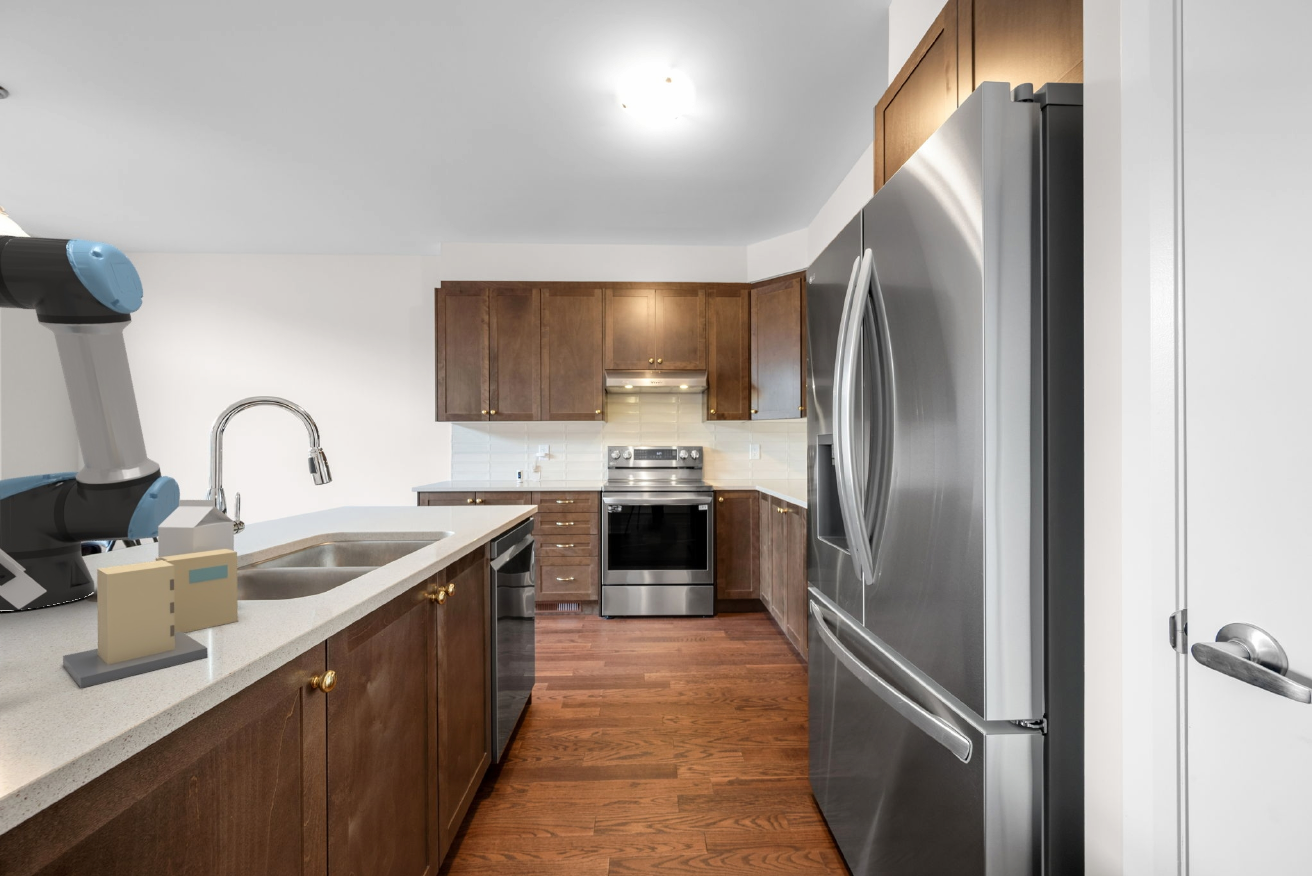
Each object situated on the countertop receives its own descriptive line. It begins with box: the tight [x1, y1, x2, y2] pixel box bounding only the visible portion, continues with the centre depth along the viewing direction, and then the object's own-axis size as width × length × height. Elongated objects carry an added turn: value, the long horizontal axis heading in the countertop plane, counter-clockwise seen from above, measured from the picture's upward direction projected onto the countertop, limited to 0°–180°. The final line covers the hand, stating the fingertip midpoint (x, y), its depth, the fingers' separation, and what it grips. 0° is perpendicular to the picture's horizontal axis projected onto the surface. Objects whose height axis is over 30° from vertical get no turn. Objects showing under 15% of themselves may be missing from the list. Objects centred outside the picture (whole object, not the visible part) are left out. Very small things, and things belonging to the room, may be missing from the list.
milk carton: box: [157, 499, 235, 558], centre depth 97 cm, size 7×7×19 cm
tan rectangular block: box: [96, 560, 175, 664], centre depth 76 cm, size 6×6×11 cm
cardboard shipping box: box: [155, 549, 239, 634], centre depth 91 cm, size 5×9×11 cm, turn 142°
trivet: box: [62, 631, 208, 689], centre depth 76 cm, size 12×12×1 cm
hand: (22, 587), depth 70 cm, fingers open, 13 cm apart
